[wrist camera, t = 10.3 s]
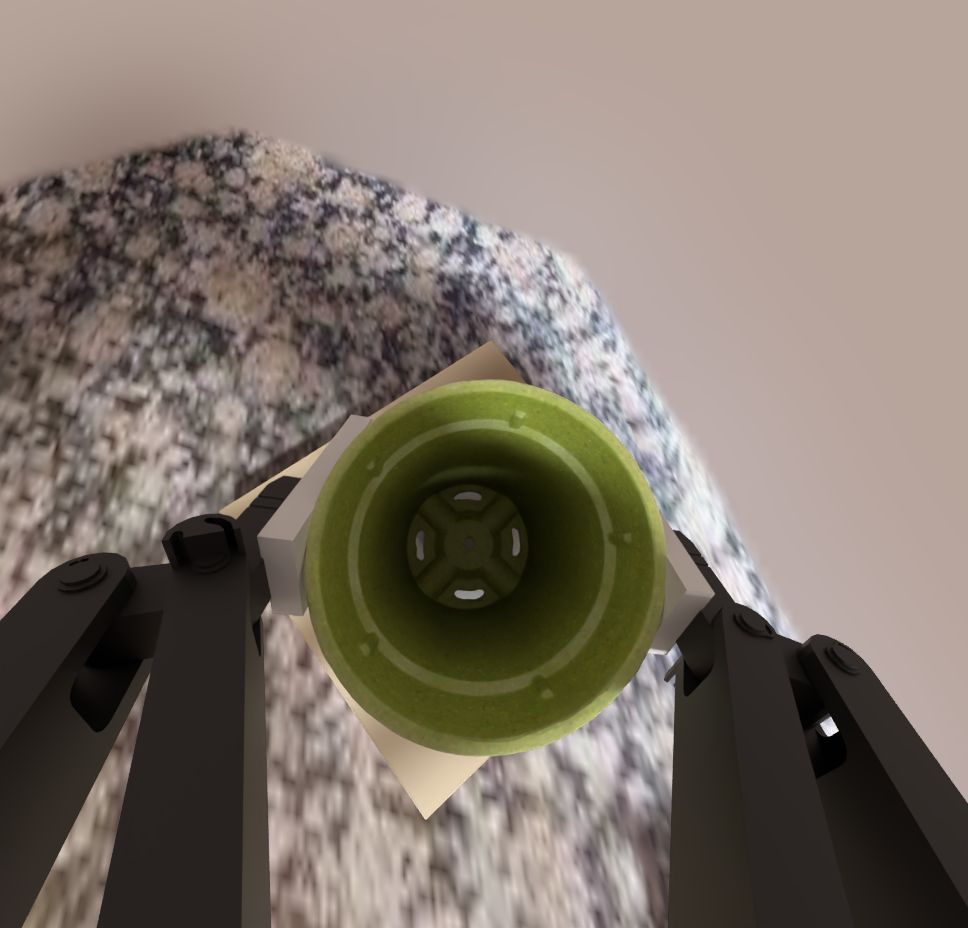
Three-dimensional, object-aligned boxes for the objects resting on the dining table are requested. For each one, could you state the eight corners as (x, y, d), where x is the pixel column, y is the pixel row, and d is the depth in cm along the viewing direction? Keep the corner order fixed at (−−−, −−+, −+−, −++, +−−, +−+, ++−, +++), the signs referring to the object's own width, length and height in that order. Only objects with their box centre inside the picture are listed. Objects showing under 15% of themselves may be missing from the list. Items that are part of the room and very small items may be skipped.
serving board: (235, 513, 20) (215, 510, 18) (487, 351, 24) (492, 337, 22) (426, 797, 18) (425, 825, 16) (662, 569, 22) (681, 571, 20)
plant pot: (570, 638, 17) (698, 729, 9) (368, 660, 16) (292, 791, 7) (550, 451, 19) (640, 379, 11) (370, 456, 18) (311, 378, 9)
